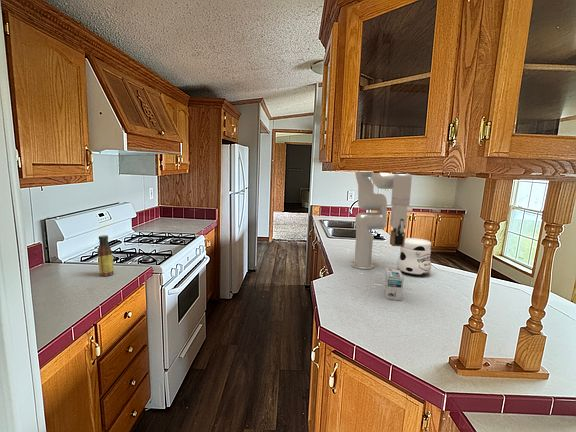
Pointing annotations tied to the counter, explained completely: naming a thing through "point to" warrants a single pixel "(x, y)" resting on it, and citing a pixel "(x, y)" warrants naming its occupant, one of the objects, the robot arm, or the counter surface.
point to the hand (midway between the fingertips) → (397, 242)
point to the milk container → (415, 256)
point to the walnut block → (392, 238)
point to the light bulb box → (394, 284)
